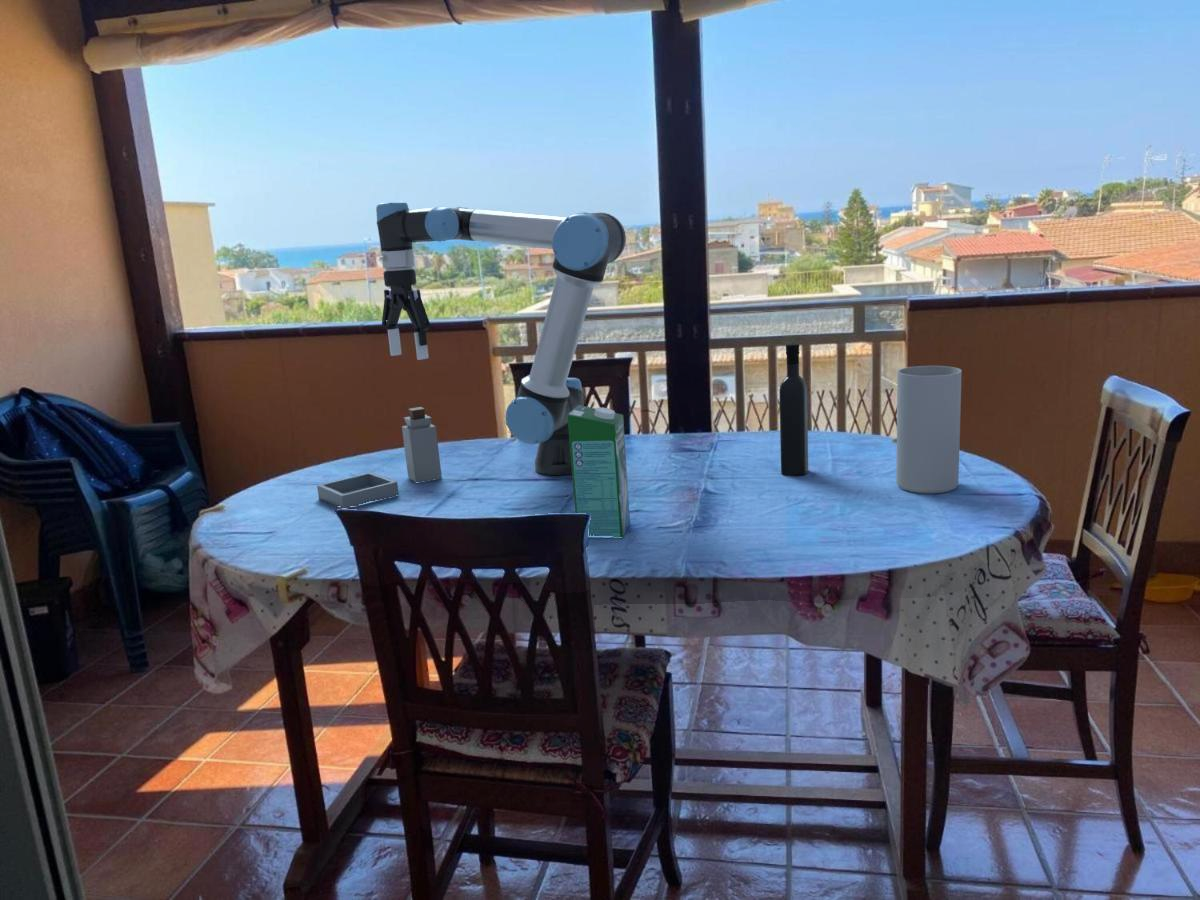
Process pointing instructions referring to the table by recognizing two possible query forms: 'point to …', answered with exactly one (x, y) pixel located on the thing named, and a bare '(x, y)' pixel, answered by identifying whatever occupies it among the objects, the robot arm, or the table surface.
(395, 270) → the robot arm
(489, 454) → the table surface
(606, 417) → the milk carton
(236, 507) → the table surface
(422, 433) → the perfume bottle
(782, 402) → the wine bottle
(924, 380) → the cylinder vase
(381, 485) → the tray
